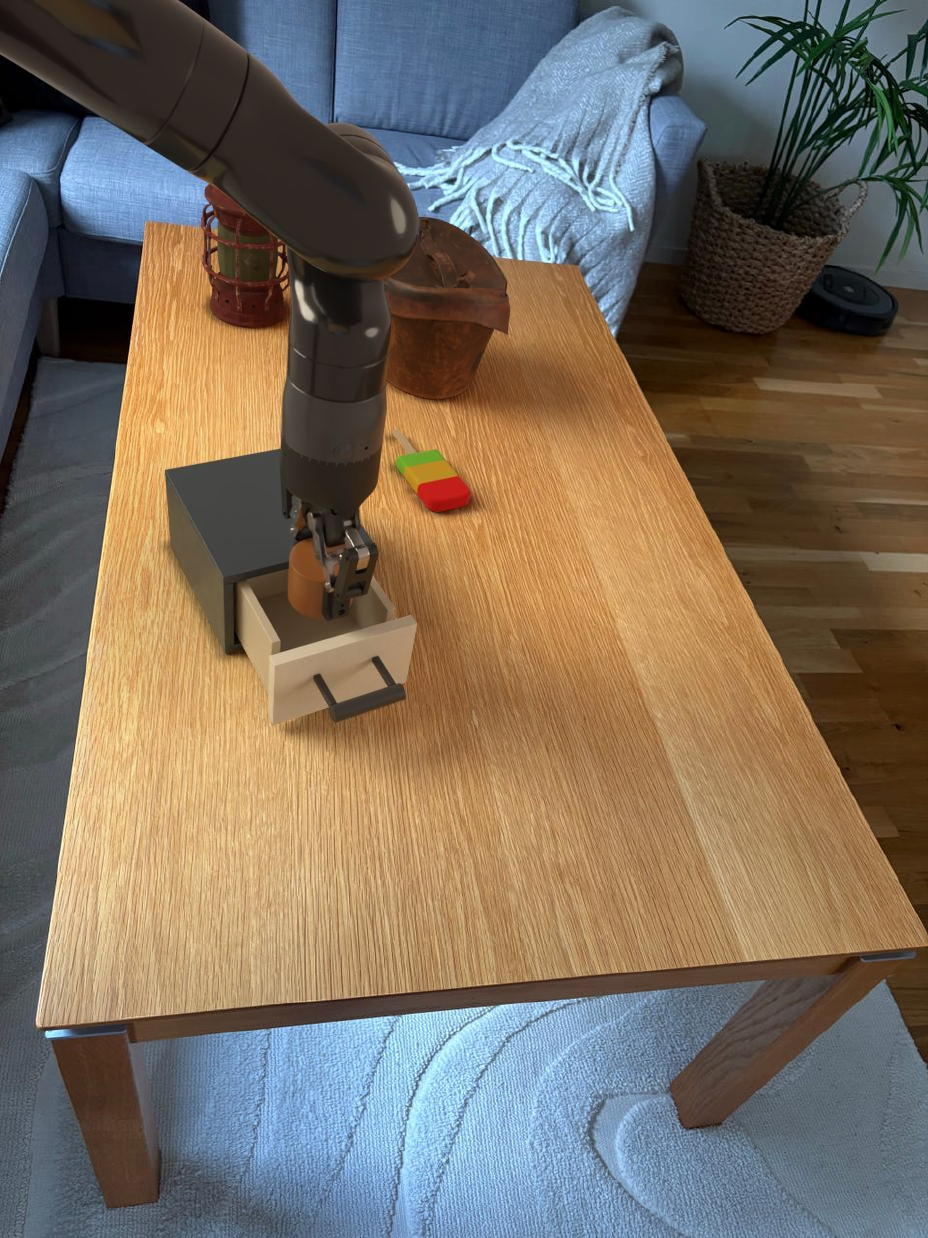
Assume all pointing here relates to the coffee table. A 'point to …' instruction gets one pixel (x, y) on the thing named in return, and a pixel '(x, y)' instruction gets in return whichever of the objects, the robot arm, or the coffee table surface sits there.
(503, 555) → the coffee table surface
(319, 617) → the orange brown cylinder
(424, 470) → the popsicle
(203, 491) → the cabinet
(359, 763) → the coffee table surface
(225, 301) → the lantern
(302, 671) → the drawer
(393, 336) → the case
